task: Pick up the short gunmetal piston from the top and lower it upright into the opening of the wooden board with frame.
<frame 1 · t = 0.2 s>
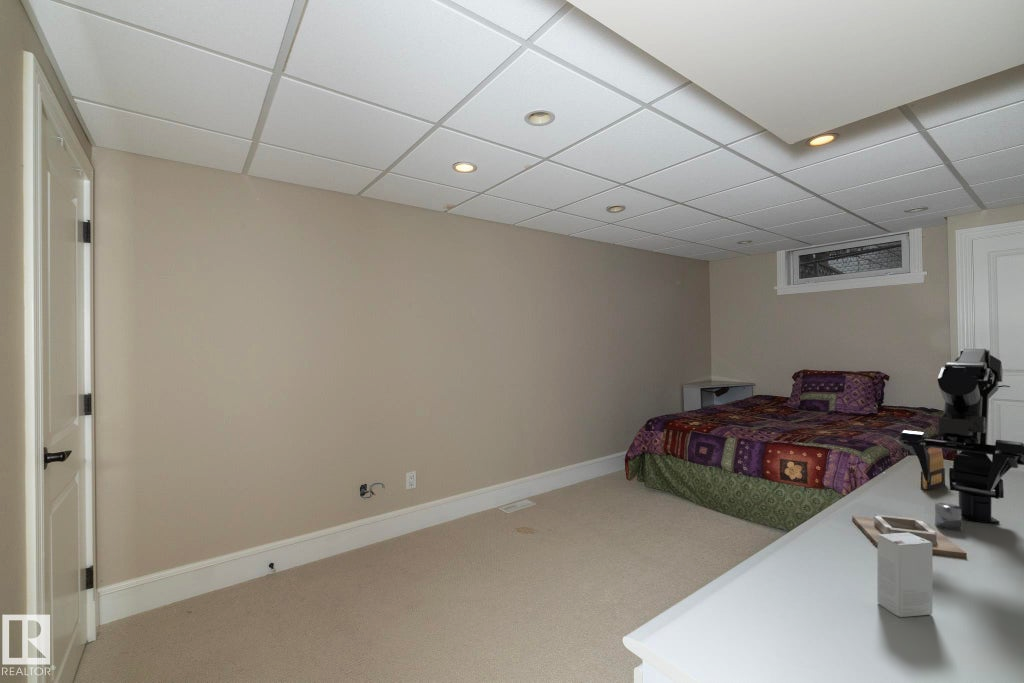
hand: (956, 486, 92), 14 cm above the table, tool tilted 30°, fingers open, 9 cm apart
ammunition clip: (933, 487, 134), on the table
piston: (948, 527, 106), on the table
wooden board with frame: (904, 537, 101), on the table
skincare box: (904, 611, 75), on the table
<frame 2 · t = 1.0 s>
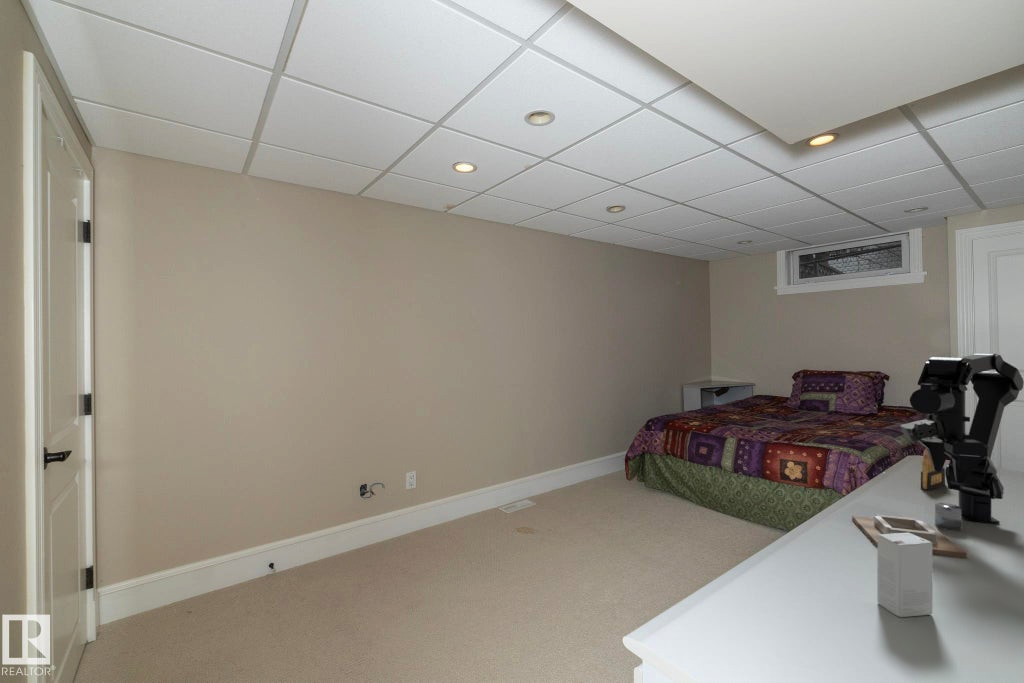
hand: (948, 476, 106), 12 cm above the table, tool pointing down, fingers open, 9 cm apart
nothing on the table moved.
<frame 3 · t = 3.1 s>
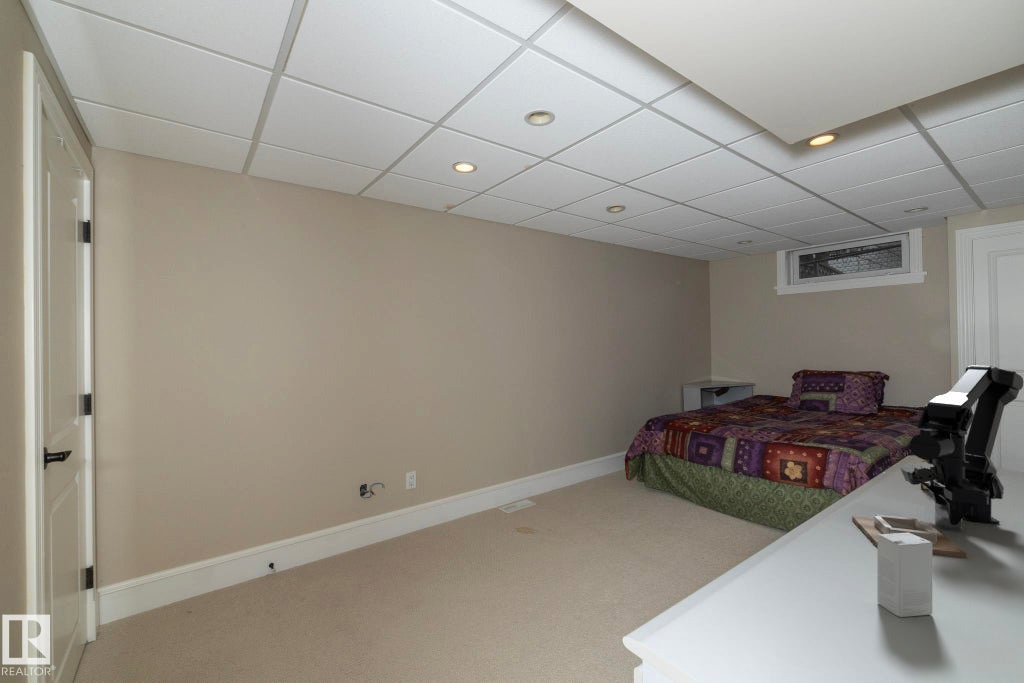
hand: (948, 520, 106), 2 cm above the table, tool pointing down, fingers closed on piston, 4 cm apart
piston: (948, 527, 106), on the table, touching gripper
everything else where it was.
when the fingers open (4 cm above the table, at t = 8.1 s): piston drops 1 cm, resting on wooden board with frame.
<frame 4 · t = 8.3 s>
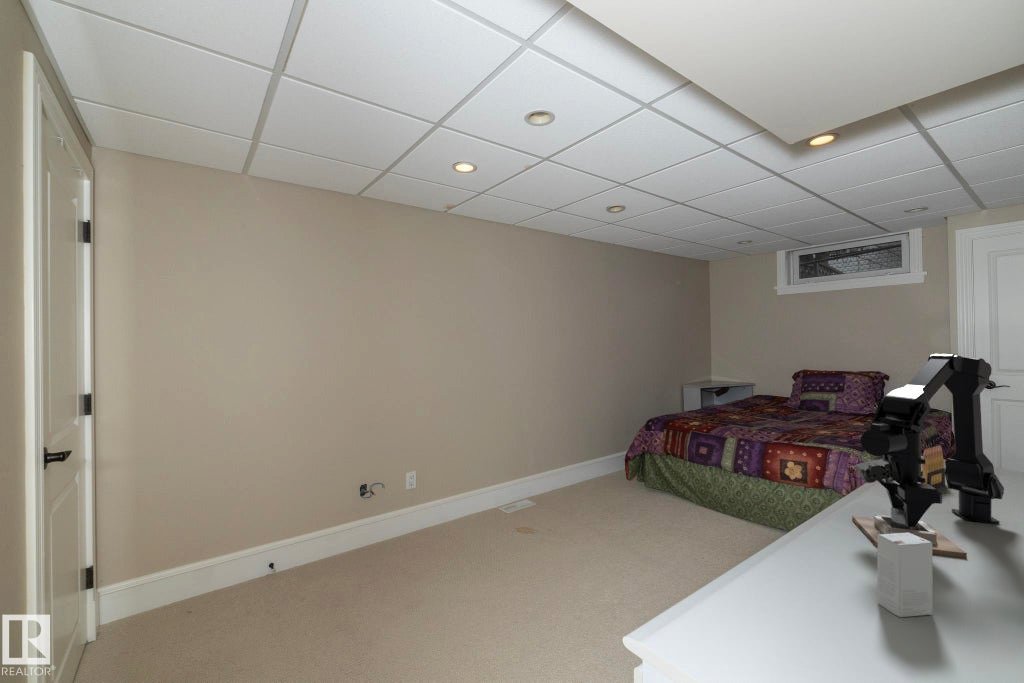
hand: (904, 520, 101), 4 cm above the table, tool pointing down, fingers open, 7 cm apart
piston: (904, 532, 101), point 1 cm above the table, touching wooden board with frame
everything else where it was.
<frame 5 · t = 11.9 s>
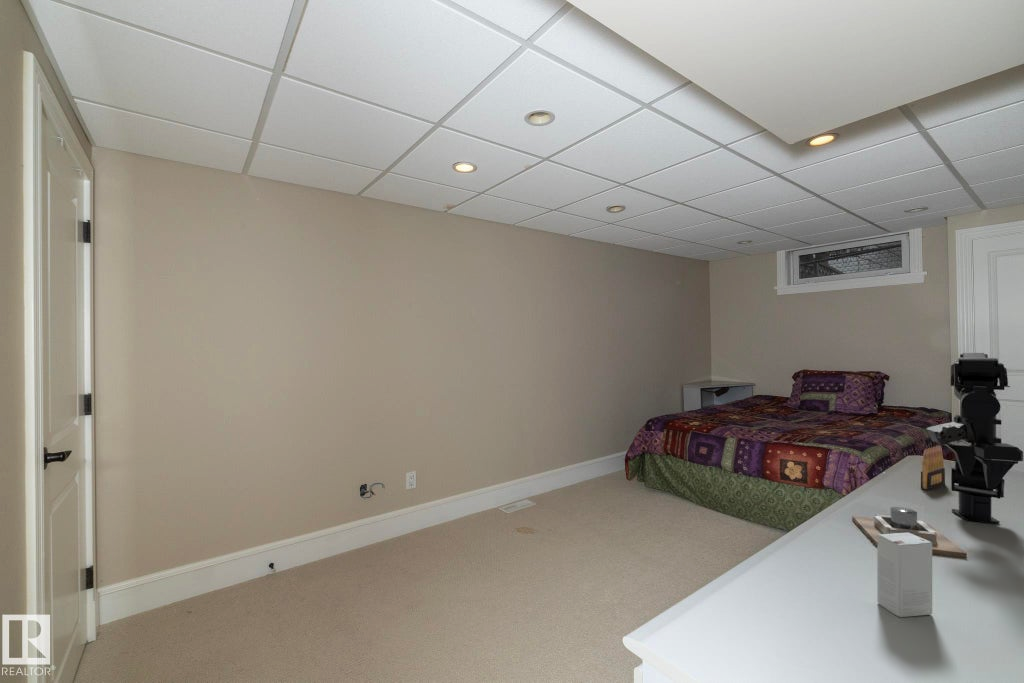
hand: (977, 481, 102), 12 cm above the table, tool pointing down, fingers open, 9 cm apart
nothing on the table moved.
at the end: piston 0.0 cm off-centre on the wooden board with frame, point 1.0 cm above the wooden board with frame's base; piston tilted 1°; the gripper is holding nothing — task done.
